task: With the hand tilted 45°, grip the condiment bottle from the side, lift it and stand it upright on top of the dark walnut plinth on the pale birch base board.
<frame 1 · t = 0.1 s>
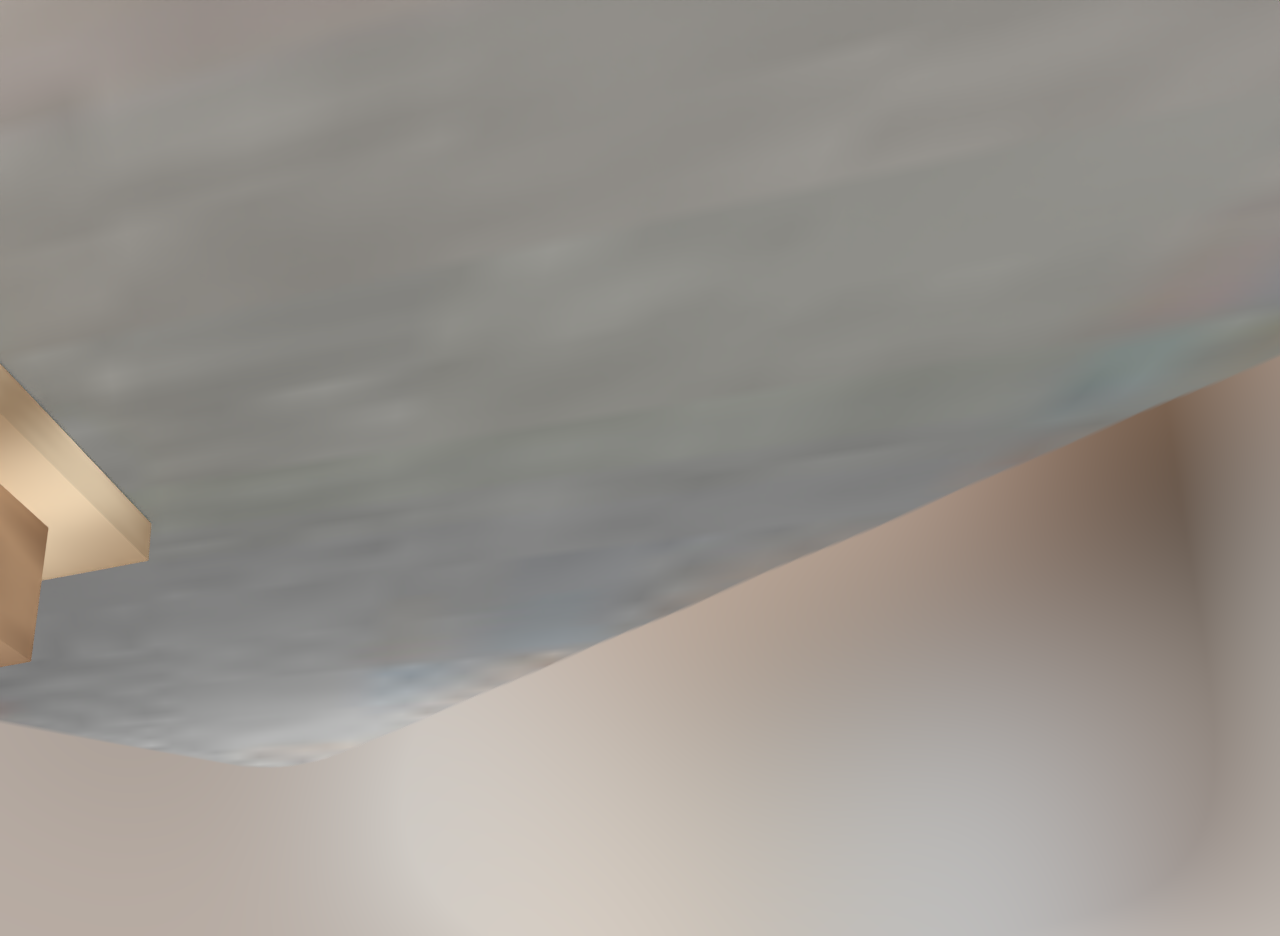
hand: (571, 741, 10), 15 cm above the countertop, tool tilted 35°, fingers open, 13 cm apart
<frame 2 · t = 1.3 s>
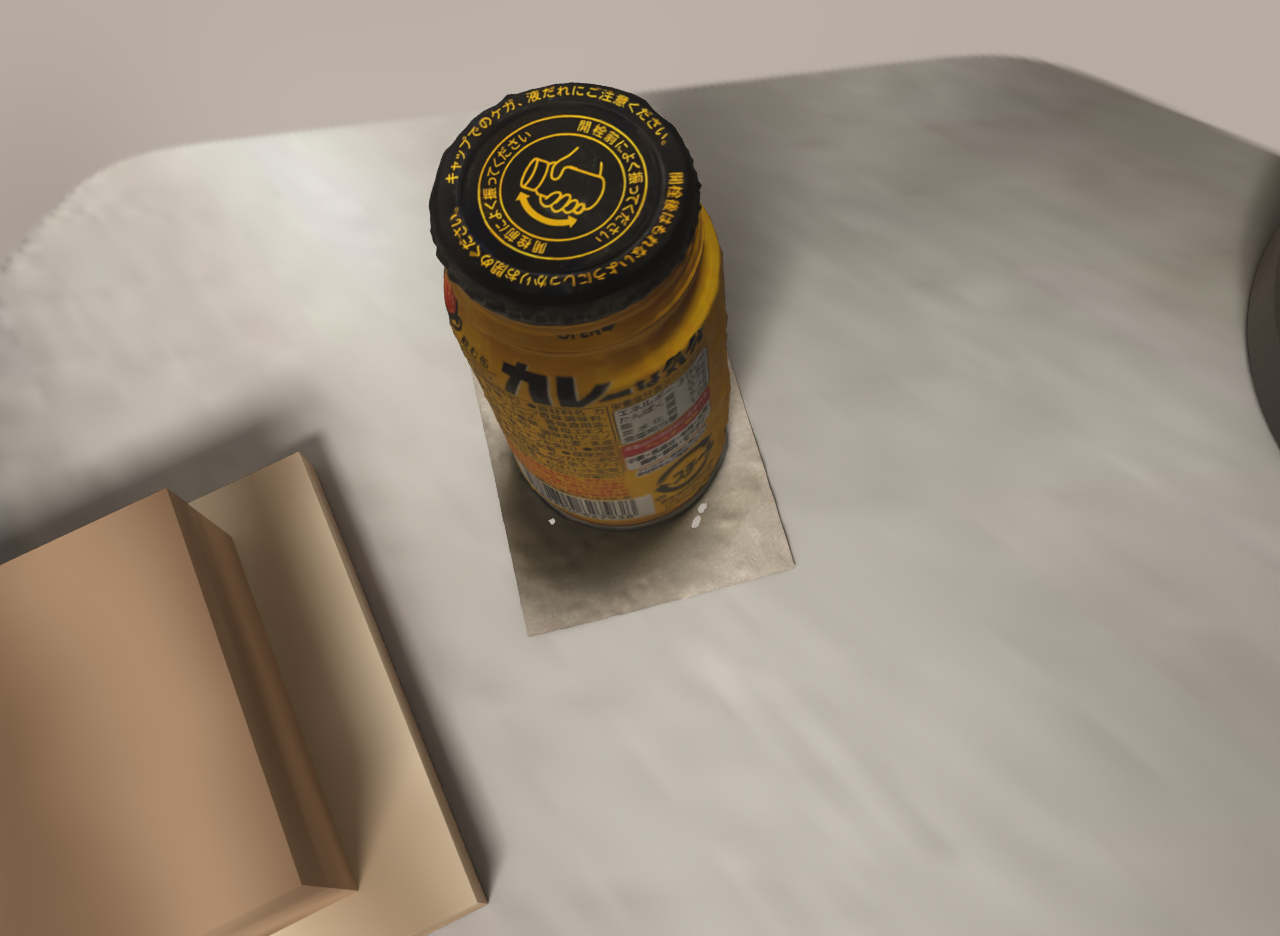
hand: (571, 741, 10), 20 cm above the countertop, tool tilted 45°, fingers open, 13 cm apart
condiment: (626, 465, 33), on the countertop
base board: (113, 806, 31), on the countertop
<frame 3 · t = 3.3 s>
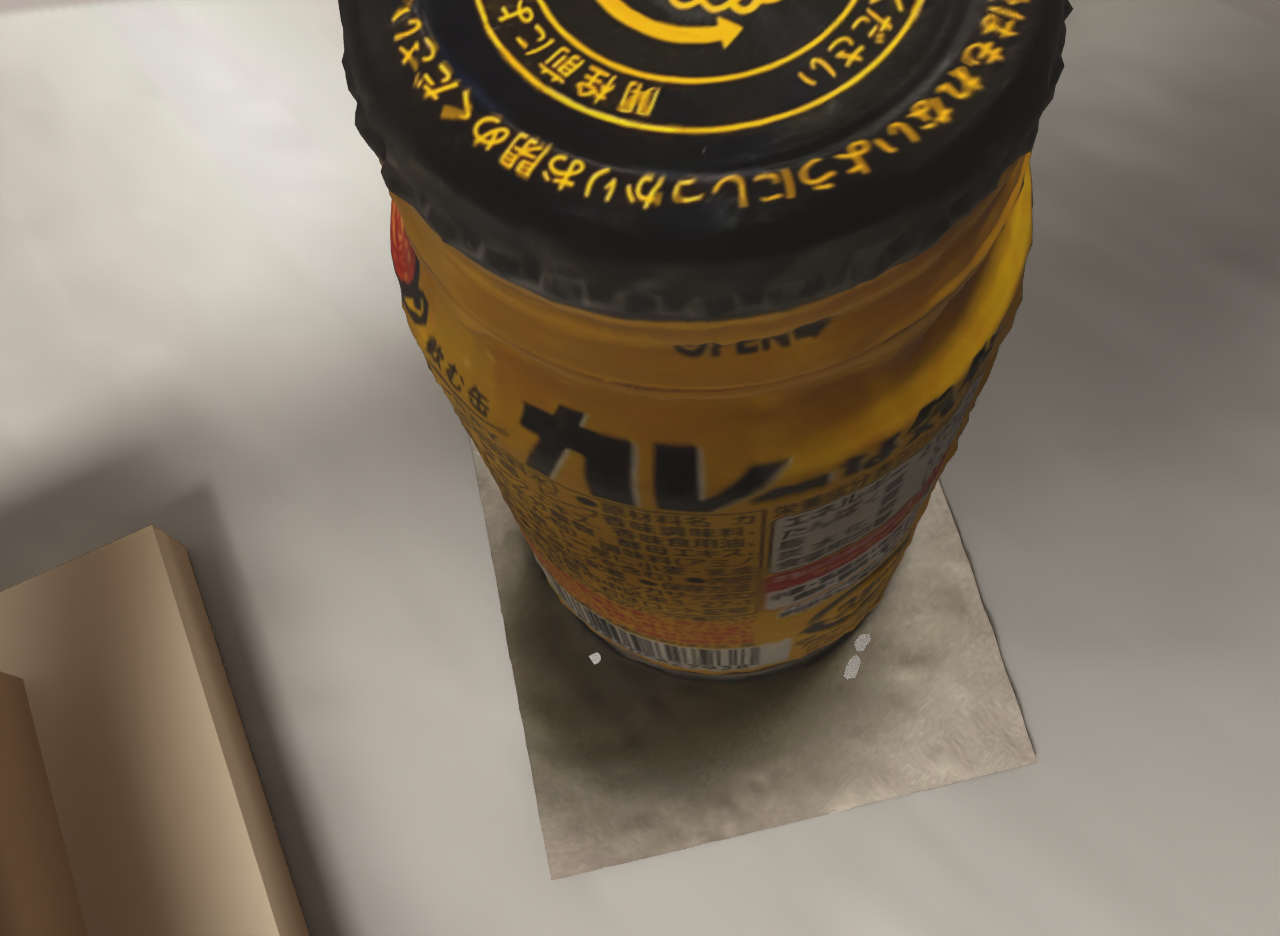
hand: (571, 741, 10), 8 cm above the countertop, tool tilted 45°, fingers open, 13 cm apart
condiment: (724, 558, 19), on the countertop
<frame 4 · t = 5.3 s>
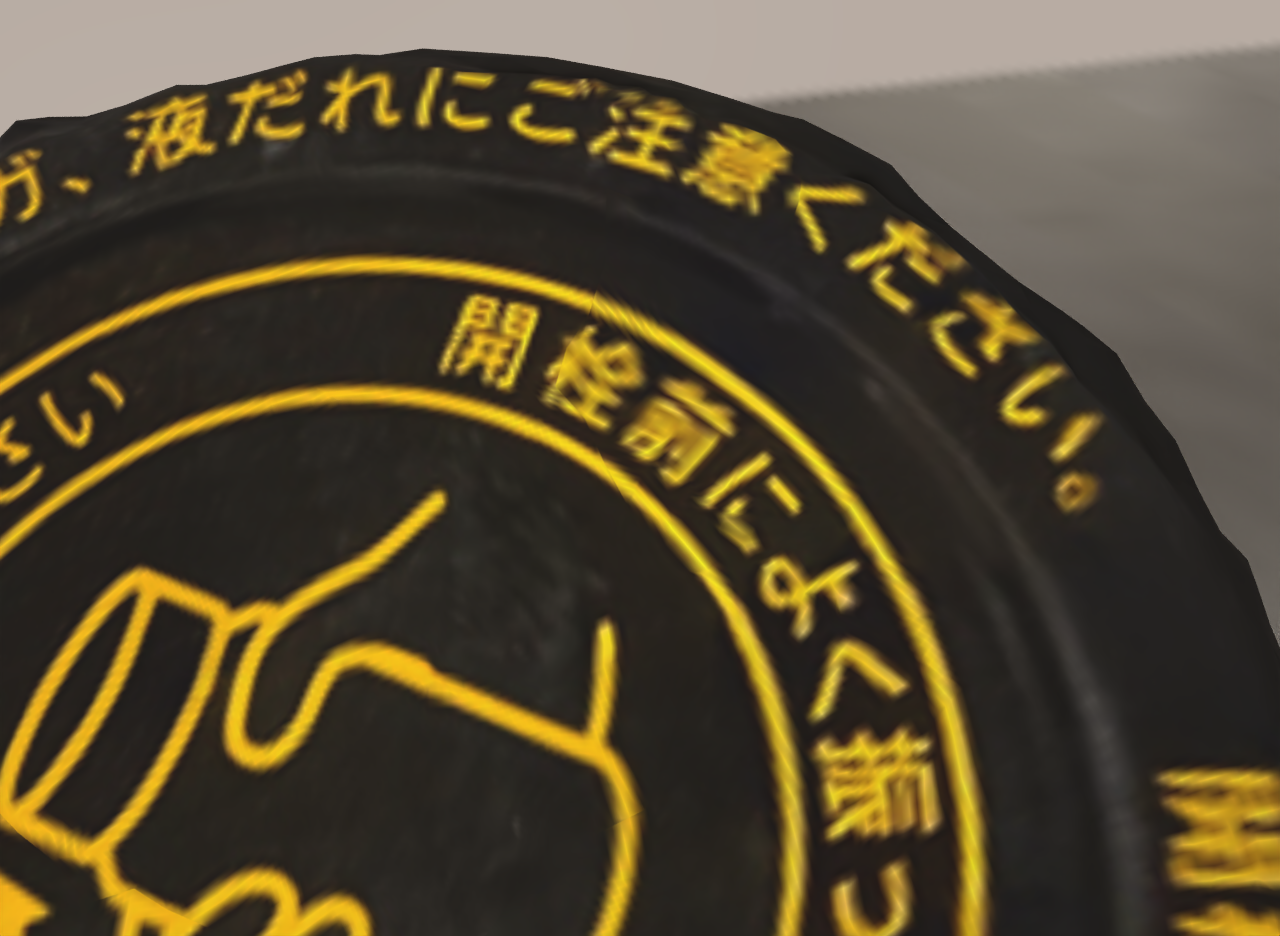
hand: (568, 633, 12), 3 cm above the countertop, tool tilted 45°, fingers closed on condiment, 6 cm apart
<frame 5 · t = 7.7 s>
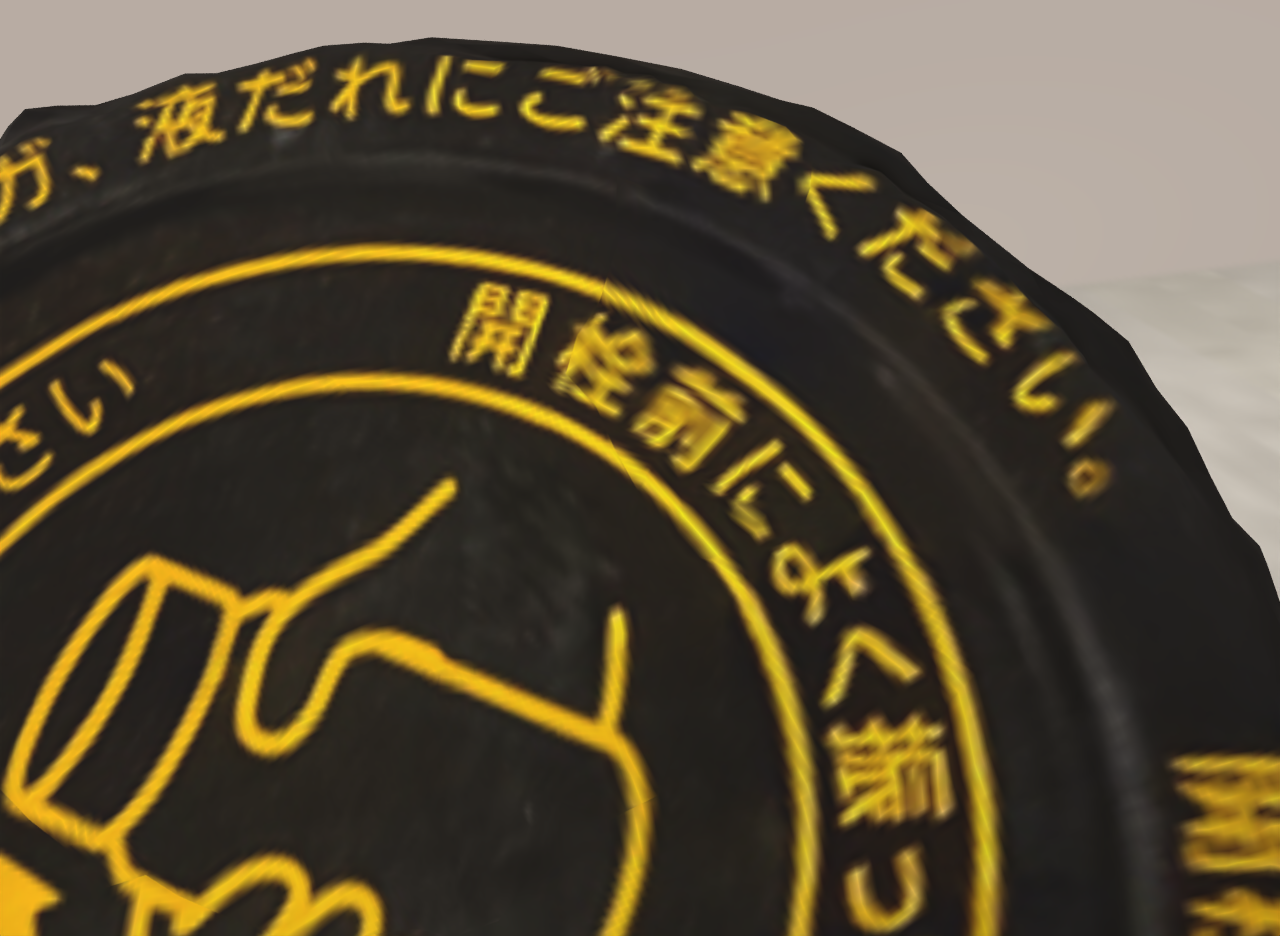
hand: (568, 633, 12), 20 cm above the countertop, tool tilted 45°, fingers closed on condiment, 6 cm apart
when the fingers open (10 cm above the countertop, at t = 10.0 s): condiment drops 1 cm, resting on base board.
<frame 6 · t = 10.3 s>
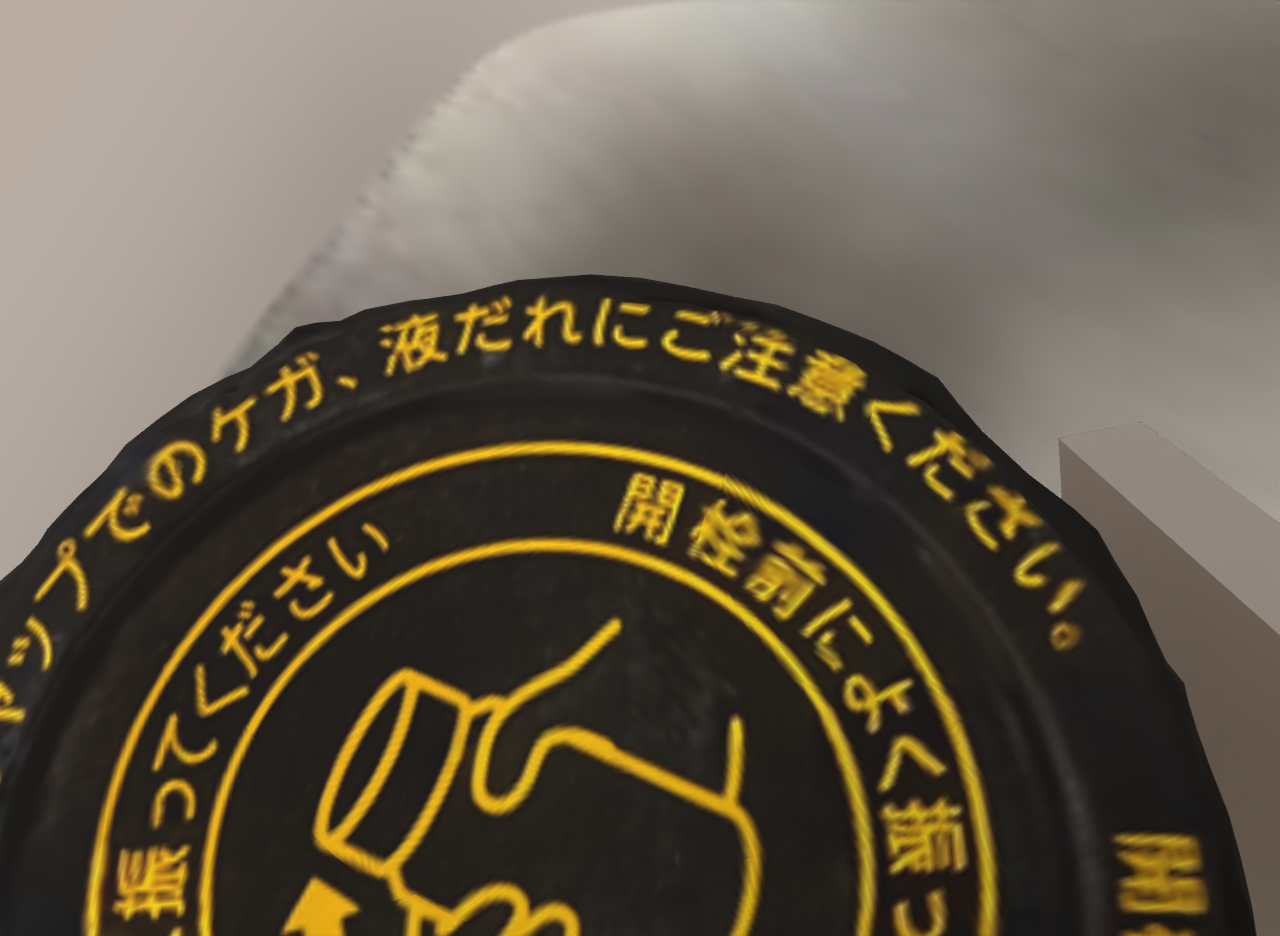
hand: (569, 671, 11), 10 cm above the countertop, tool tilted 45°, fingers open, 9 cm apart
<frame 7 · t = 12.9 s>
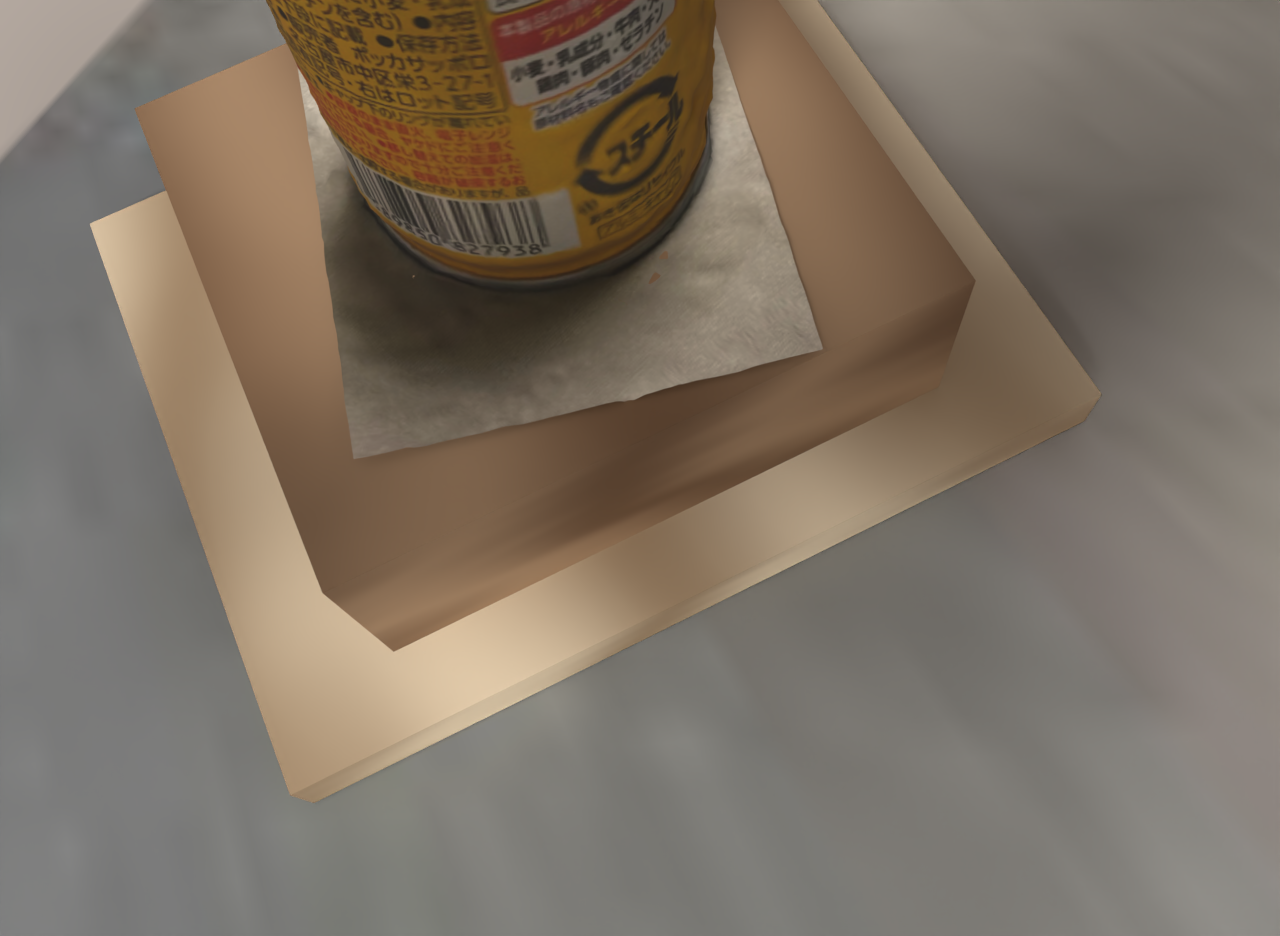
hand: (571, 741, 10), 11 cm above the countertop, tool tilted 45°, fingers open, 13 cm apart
condiment: (540, 195, 20), point 5 cm above the countertop, touching base board
base board: (568, 332, 24), on the countertop
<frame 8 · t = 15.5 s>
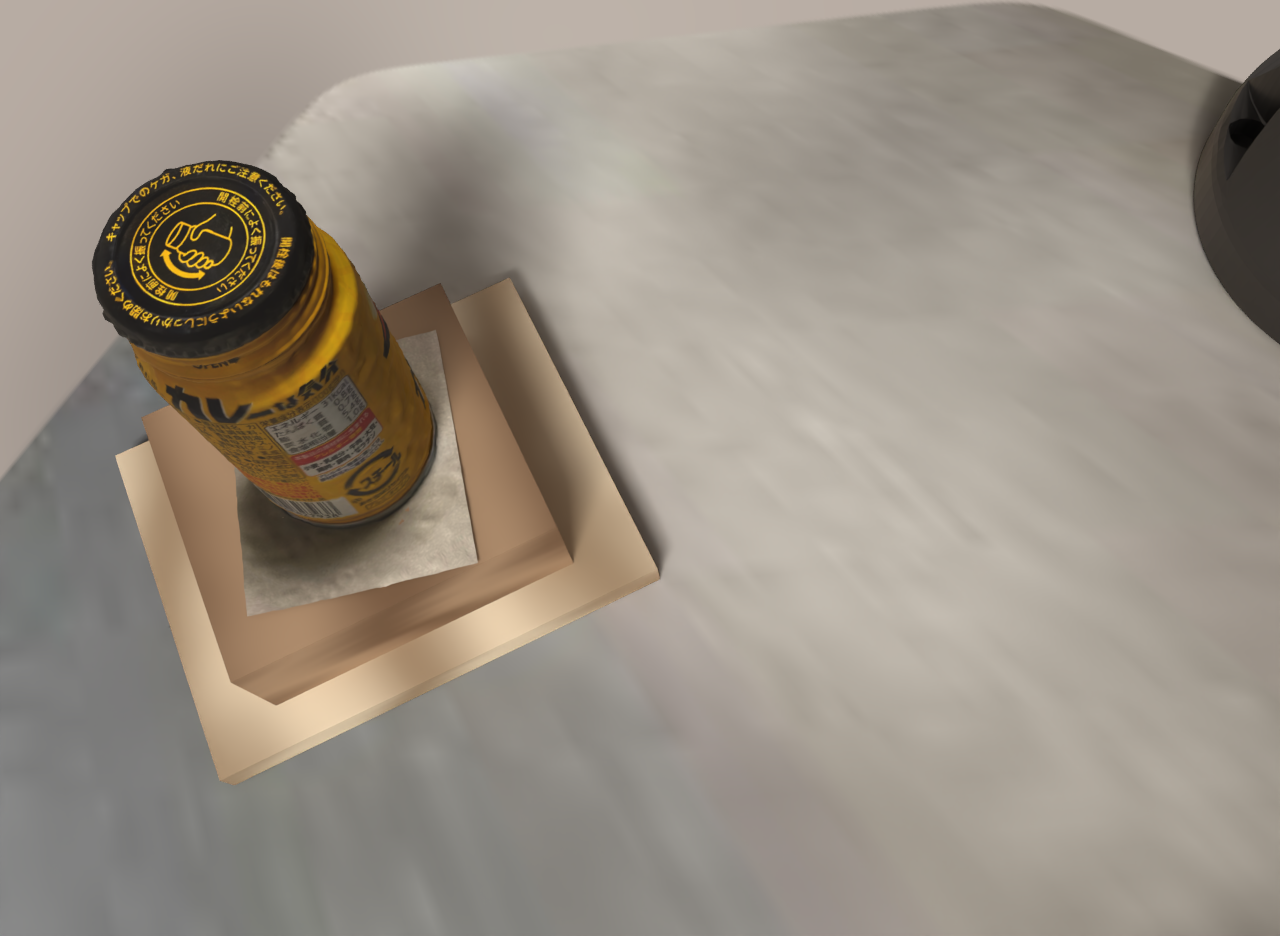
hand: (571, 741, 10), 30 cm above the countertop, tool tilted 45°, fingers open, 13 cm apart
condiment: (350, 472, 39), point 5 cm above the countertop, touching base board
base board: (385, 521, 43), on the countertop
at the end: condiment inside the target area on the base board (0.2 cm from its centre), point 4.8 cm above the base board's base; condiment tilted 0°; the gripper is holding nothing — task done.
